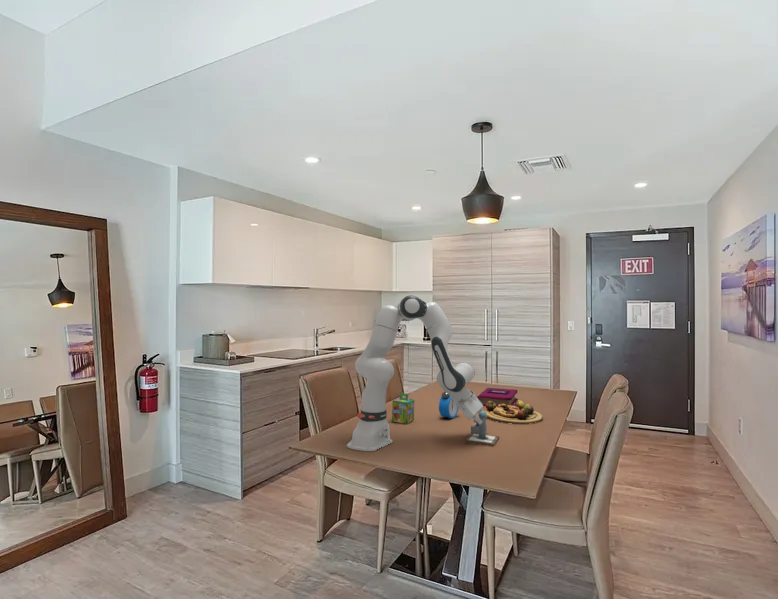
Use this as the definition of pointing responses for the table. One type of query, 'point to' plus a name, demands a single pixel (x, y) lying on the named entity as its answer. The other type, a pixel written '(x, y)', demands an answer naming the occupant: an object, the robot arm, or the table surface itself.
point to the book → (498, 396)
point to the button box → (476, 429)
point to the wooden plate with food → (512, 413)
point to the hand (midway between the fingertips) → (483, 420)
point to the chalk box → (403, 409)
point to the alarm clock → (447, 406)
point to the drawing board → (488, 440)
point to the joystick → (482, 425)
